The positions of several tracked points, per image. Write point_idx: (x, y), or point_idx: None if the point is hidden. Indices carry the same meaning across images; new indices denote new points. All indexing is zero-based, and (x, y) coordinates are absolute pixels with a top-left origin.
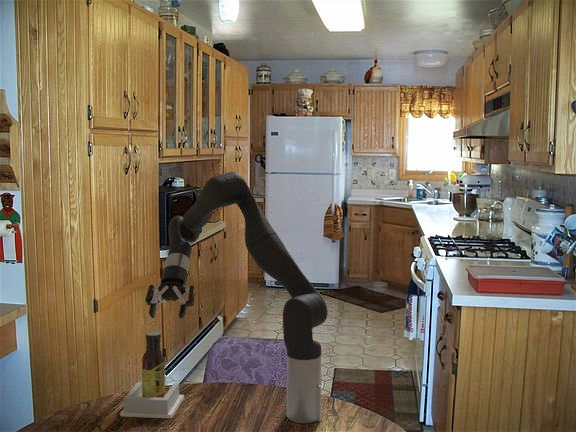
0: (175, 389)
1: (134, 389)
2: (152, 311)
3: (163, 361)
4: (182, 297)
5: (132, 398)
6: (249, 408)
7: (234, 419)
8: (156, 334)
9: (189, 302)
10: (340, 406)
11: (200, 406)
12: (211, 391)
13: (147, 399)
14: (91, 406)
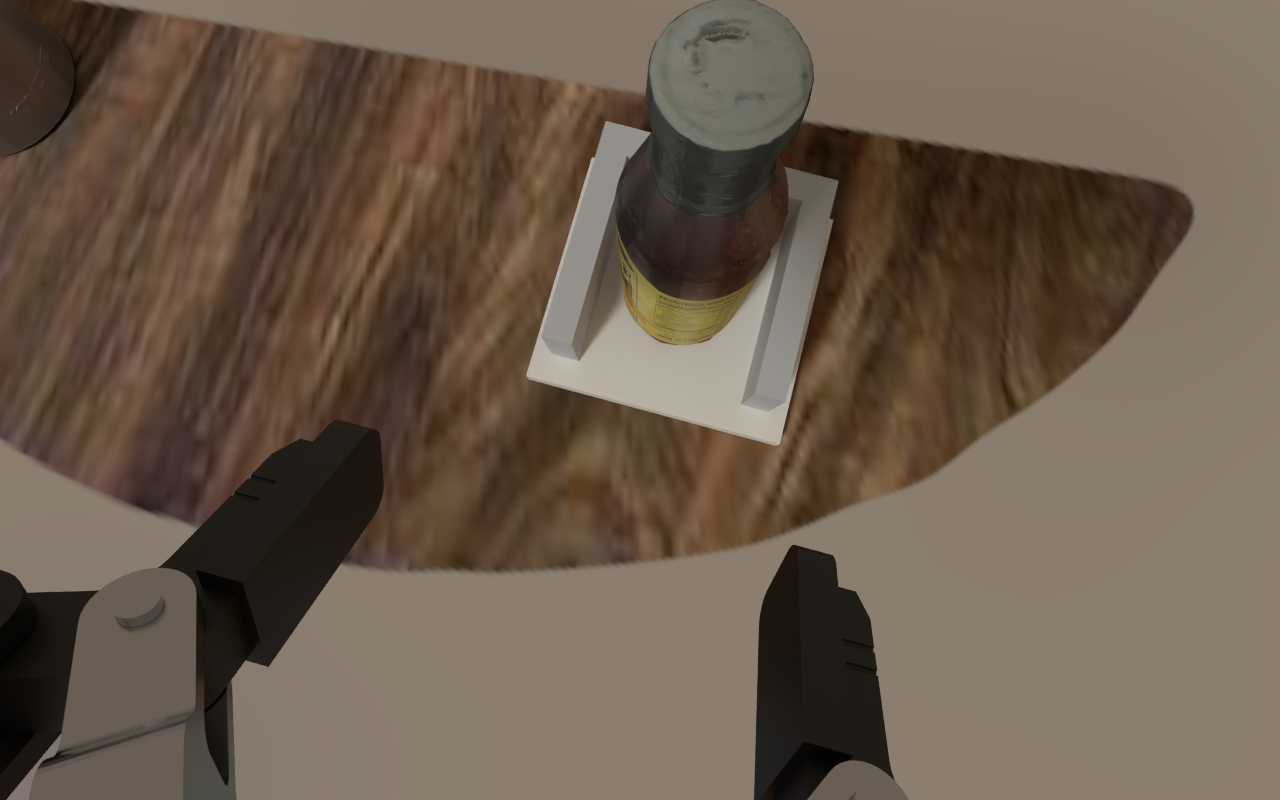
0: (563, 267)
1: (793, 290)
2: (810, 590)
3: (623, 169)
4: (75, 745)
5: (791, 173)
6: (222, 206)
7: (313, 110)
8: (691, 29)
9: (14, 579)
10: None
11: (453, 268)
12: None
13: None
14: (985, 360)
